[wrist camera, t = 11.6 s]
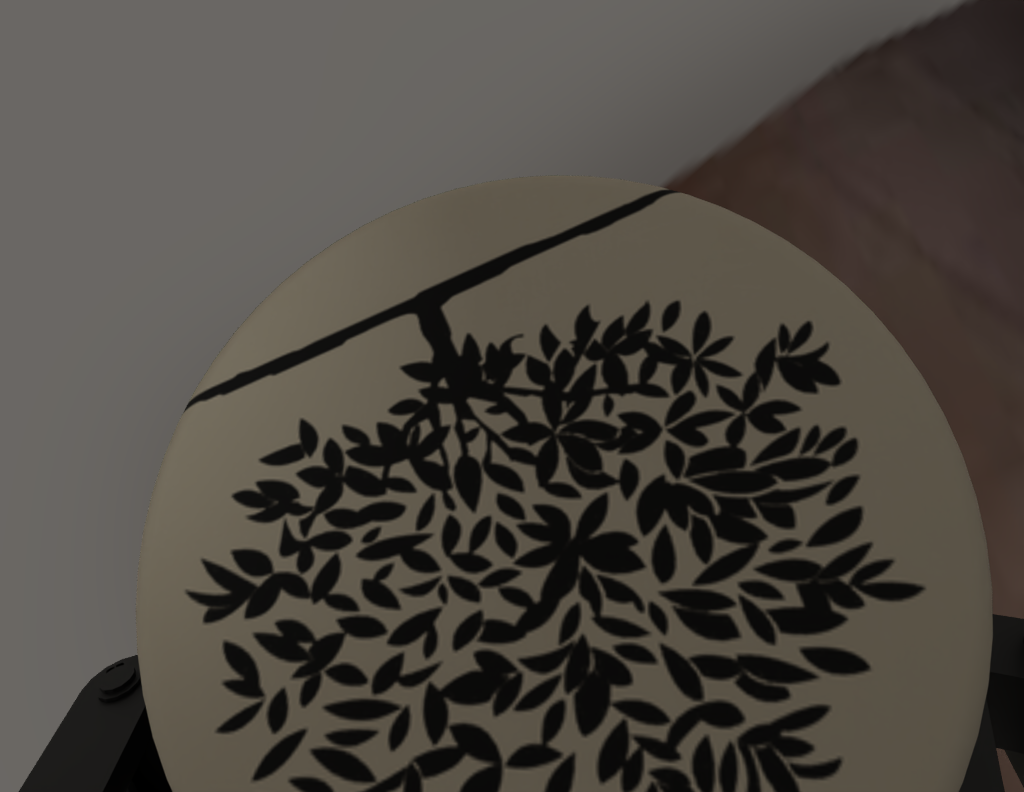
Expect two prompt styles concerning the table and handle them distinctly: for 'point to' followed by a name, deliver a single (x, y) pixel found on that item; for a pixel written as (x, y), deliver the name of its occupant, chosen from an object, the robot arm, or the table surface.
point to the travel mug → (563, 519)
